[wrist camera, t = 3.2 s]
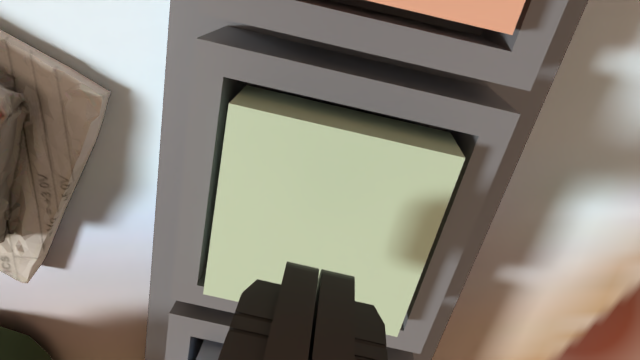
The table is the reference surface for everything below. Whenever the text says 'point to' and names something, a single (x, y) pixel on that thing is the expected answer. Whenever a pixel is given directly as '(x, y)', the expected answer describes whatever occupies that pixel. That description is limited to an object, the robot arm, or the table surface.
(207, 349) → the slate button
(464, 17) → the terracotta button
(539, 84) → the button panel
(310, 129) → the sage button
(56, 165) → the packaged product
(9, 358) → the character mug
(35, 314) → the table surface
